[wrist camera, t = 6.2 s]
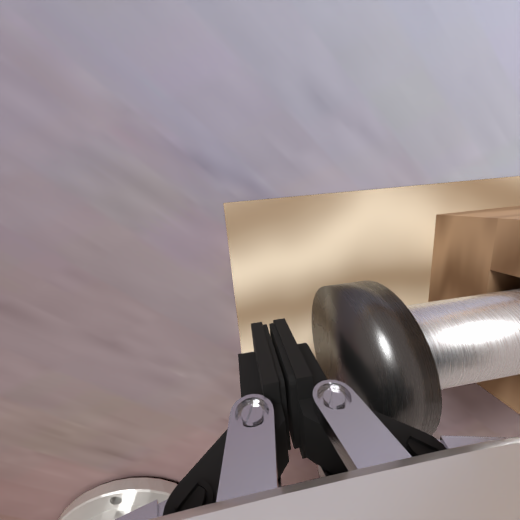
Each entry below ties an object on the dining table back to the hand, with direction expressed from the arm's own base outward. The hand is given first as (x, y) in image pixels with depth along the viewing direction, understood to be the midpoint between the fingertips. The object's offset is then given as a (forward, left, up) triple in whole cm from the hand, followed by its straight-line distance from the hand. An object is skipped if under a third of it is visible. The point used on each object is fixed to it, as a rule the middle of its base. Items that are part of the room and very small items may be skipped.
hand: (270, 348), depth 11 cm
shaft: (0, -13, -2) cm, 13 cm away
